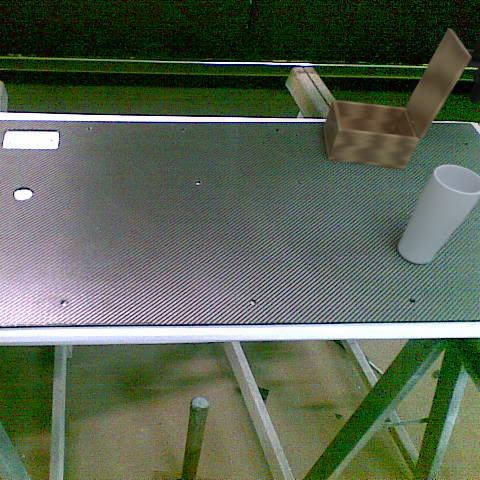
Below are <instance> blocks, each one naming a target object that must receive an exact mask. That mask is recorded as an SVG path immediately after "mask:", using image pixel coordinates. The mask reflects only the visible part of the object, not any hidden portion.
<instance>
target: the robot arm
mask: <svg viewBox="0 0 480 480" xmlns="http://www.w3.org/2000/svg"><path fill="white" fill-rule="evenodd" d="M473 50H474V51H473V56H472V57H474V59H475V60H476V62H480V34H478V38H477V41H476V43H475V46H474V49H473ZM472 80H473V82H474V84H473V86H472V88H471V89H470V92H469V93H468V95H467V97H468V99H469V100H470V102H471V103H472V104H478V103H479V101H480V68H476V71H475V72H474V75H473V76H472Z"/></svg>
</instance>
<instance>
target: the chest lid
mask: <svg viewBox="0 0 480 480" xmlns="http://www.w3.org/2000/svg"><path fill="white" fill-rule="evenodd" d="M473 51H474V49H469V48H466V47H465V45H464V43H463V42H462V41H461V40H460V39H459V37H458V35H457V34H456V32H455V31H454V30H453V29H452V28H447V30H446V31H445V34H444V36H443V37H442V39H441V41H440V43H439V45H438V46H437V48H436V49H435V52H434V53H433V55H432V57H431V59H430V61H429V62H428V64H427V66H426V68H425V70H424V72H423V74H422V75H421V76H420V77H421V78H420V79H419V81H418V83H417V85H416V86H415V88H414V90H413V92H412V94H411V95H410V97H409V99H408V101H407V103H406V105H405V108H407V110H408V112H409V115H410V117H411V120H412V122H413V124H414V127H415V129H416V132H417V134H418V136H419V138H421V139H423V138H424V137H425V135H426V134H427V132H428V131H429V129H430V127H431V125H432V124H433V122H434V120H435V119H436V117H437V115H438V114H439V113H440V111H441V109H442V108H443V105H444V104H445V103H446V101H447V99H448V97H449V95H450V94H451V92H452V91H453V89H454V87H455V86H456V84H457V82H458V81H459V79H460V77H461V76H462V74H463V72H464V71H465V70H466V68H467V67H473V68H476V69H478V68H480V62H477V61H474V60H472V58H473V57H474V56H473Z"/></svg>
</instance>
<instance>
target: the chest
mask: <svg viewBox="0 0 480 480" xmlns="http://www.w3.org/2000/svg"><path fill="white" fill-rule="evenodd" d="M322 130H323V136H324V137H323V138H324V142H325V149H326V156H327V161H330V162H331V161H332V162H340V163H347V164H358V165H365V166H373V167H380V168H388V169H389V168H390V169H396V170H406V169H407V166H408V164H409V162H410V160H411V158H412V156H413V154H414V153H415V151H416V148H417V146H418V144H419V143H420V141H421V139H420V137H419V135H418V133H417V131H416V128H415V126H414V123H413V121H412V119H411V116H410V114H409V111H408V109H407V107H402V106H394V105H393V106H392V105H383V104H375V103H367V102H358V101H348V100H341V99H340V100H339V99H332V100H331V103H330V106H329V110H328V111H327V115H326V119H325V121H324V124H323V128H322Z"/></svg>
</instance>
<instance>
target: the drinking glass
mask: <svg viewBox="0 0 480 480" xmlns="http://www.w3.org/2000/svg"><path fill="white" fill-rule="evenodd" d="M479 200H480V175H479V174H477V173H476V172H474V171H473V170H471V169H469V168H467V167H465V166H464V167H463V166H461V165H456V164H441V165H438V166H437V167H435V168H434V169H433V171H432V173H431V174H430V176H429V177H428V179H427V181H426V183H425V185H424V186H423V189H422V190H421V192H420V194H419V197H418V199H417V201H416V203H415V206H414V208H413V211H412V213H411V216H410V218H409V220H408V222H407V225H406V227H405V229H404V231H403V233H402V236H401V238H400V239H399V242H398V243H397V251H398V253H399V255H400V256H401V257H402V258H403V259H405V260H406V261H408V262H410V263H412V264H416V265H425V264H428V263H430V262H431V261H432V260H433V259H434V258H435V256H436V255H437V253H438V252H439V251H440V249H441V248H442V247H443V246H444V245H445V243H447V241H448V240H449V239H450V237H452V235H453V234H454V232H456V230H457V229H459V227H460V226H461V224H463V222H464V221H465V219H466V218H467V217H468V216H469V214H470V213H471V212H472V211H473V209H474V208H475V206H476V205H477V203H478V202H479Z"/></svg>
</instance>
